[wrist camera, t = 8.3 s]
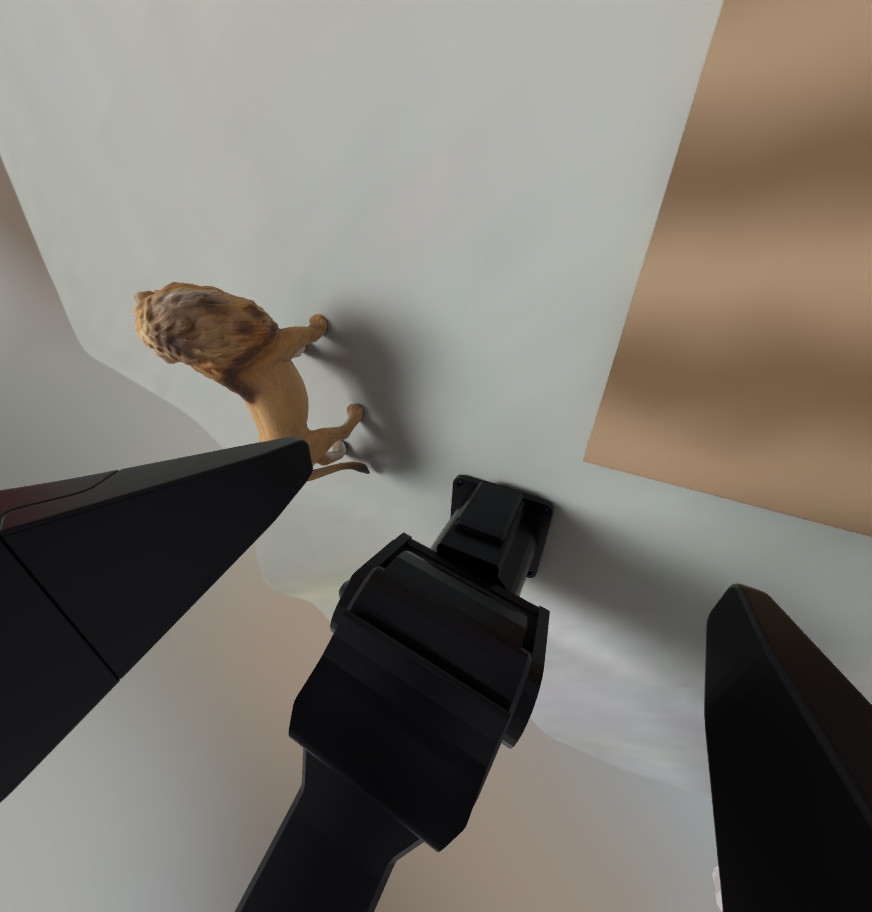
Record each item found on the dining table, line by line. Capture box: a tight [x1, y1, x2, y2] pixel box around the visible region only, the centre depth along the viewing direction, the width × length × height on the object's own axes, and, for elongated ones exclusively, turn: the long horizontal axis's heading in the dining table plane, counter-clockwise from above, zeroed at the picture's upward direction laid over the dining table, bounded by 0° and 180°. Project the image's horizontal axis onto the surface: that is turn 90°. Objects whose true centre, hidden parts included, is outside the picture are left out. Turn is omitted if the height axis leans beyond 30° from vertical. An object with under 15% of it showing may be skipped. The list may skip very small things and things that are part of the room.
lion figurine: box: [133, 282, 370, 481], centre depth 22 cm, size 15×5×9 cm, turn 27°
